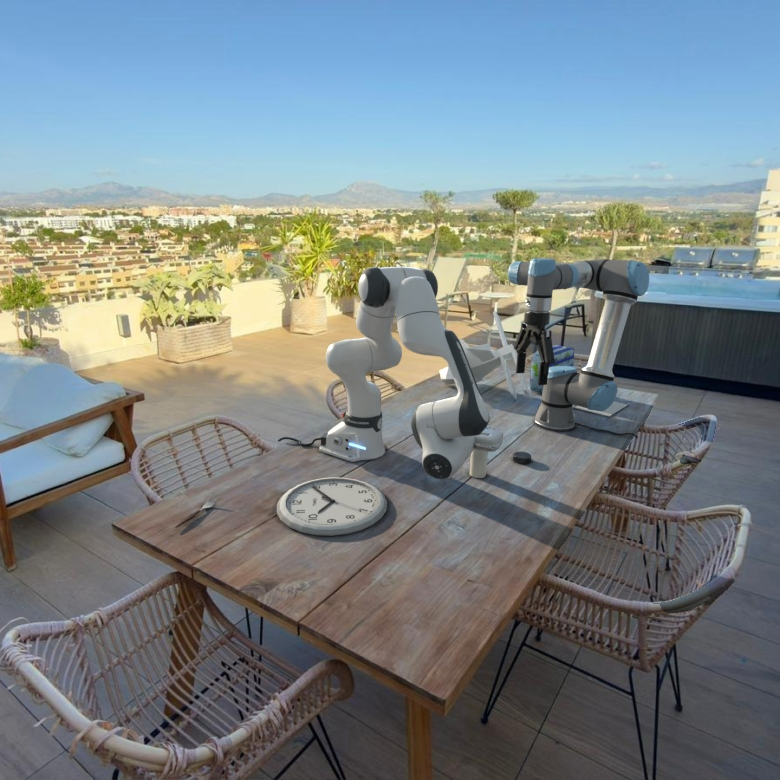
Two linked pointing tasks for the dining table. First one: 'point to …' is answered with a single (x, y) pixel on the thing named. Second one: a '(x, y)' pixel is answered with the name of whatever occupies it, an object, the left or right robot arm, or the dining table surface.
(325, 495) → the wall clock
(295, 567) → the dining table surface
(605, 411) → the invitation card
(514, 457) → the lid
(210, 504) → the fork
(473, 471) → the white tall cylinder
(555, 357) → the lunch box
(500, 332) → the white plastic object
